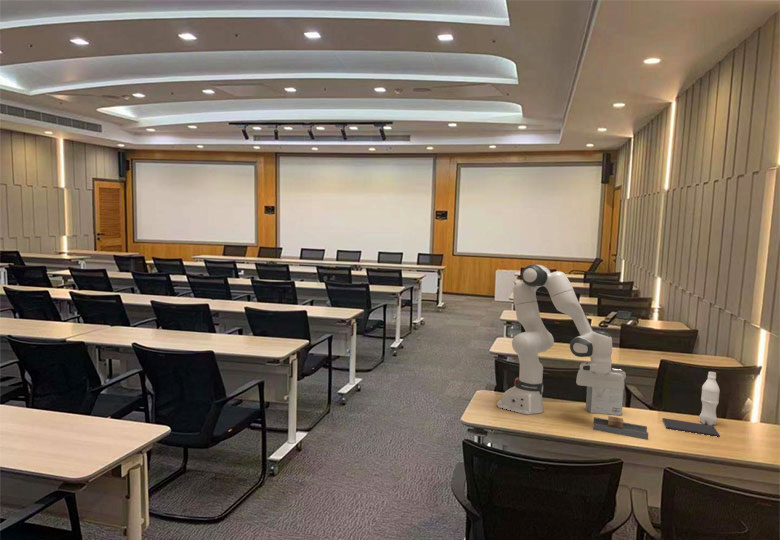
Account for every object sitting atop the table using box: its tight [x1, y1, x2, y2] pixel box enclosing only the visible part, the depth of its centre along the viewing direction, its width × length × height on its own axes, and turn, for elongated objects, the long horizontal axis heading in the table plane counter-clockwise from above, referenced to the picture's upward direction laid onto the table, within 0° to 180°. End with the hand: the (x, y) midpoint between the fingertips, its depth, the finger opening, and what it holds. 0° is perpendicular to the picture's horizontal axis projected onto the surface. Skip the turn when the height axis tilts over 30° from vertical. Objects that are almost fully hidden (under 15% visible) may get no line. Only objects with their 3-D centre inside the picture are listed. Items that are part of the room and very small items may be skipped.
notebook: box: [662, 417, 721, 438], centre depth 232 cm, size 13×2×21 cm
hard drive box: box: [585, 386, 624, 416], centre depth 248 cm, size 16×8×20 cm, turn 84°
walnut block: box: [607, 415, 624, 428], centre depth 225 cm, size 6×6×5 cm
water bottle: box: [699, 371, 721, 426], centre depth 238 cm, size 7×7×25 cm
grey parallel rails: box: [592, 416, 649, 441], centre depth 224 cm, size 22×10×2 cm, turn 66°
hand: (599, 397), depth 227 cm, fingers closed
